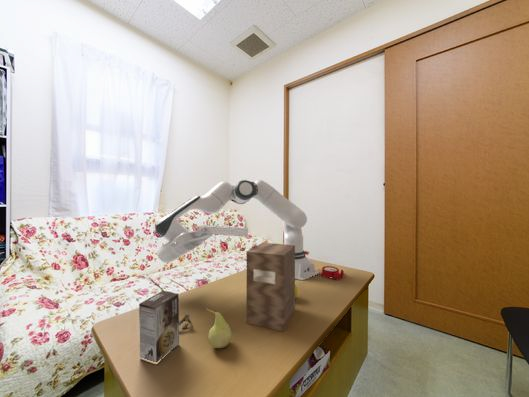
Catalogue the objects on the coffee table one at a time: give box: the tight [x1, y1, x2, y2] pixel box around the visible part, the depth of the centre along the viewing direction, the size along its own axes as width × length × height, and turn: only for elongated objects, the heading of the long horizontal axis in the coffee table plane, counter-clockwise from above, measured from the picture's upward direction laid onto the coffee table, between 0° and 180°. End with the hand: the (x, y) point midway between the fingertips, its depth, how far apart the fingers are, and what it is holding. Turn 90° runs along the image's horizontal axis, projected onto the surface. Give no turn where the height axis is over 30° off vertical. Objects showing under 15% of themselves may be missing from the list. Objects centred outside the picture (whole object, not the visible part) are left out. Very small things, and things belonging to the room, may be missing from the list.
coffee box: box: [138, 290, 180, 362], centre depth 64 cm, size 9×6×16 cm
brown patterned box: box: [246, 242, 296, 332], centre depth 84 cm, size 14×17×26 cm
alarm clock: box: [317, 265, 348, 280], centre depth 125 cm, size 10×6×15 cm
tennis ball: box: [295, 284, 299, 299], centre depth 98 cm, size 7×7×7 cm
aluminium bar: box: [198, 224, 249, 238], centre depth 92 cm, size 22×3×3 cm, turn 69°
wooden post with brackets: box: [179, 313, 193, 330], centre depth 75 cm, size 2×8×4 cm, turn 127°
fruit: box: [206, 308, 233, 349], centre depth 67 cm, size 7×8×12 cm
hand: (208, 228), depth 94 cm, fingers closed on aluminium bar, 3 cm apart
